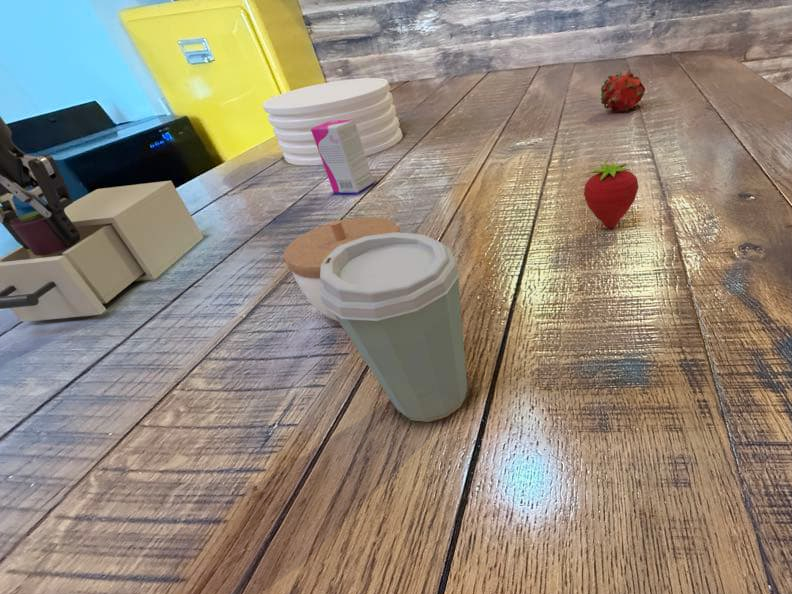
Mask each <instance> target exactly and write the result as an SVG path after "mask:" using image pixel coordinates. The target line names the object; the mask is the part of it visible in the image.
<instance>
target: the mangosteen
mask: <svg viewBox="0 0 792 594" xmlns="http://www.w3.org/2000/svg"><path fill="white" fill-rule="evenodd" d="M19 216H20V217H19V218H18V219H16V220H14V221H12V222H11V223H10V226H11V227H12V228H13V229H14V230H15V232H16V233H17V234H18V235H19V237H20V238H21V239H22V240H23V241H24V243H25V244H26V245H27V246H28V248H29V249H30V250H31V251H32V252H33V254H34V255H38V256H40V255H48V254H52V253H56V252H59V251H62V250H65V249H67V248H69V247H71V246H73V245H74V244H75V243H74V244H73V245H64V244H63V243H62V241H61V240H60V239H59V237H58V236H57V235H56V234H55V232H54V231H53V230H52V228H51V227H50V226H49V224H48V223H47V222H46V220H45V219H44V218H46V217H44V216H43V215H42V214H40V213H39V212H38V211H37V210H33V211H30V212H27V213H26V212H25V213H23V214H21V215H19ZM76 243H77V242H76Z"/></svg>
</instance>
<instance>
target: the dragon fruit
mask: <svg viewBox="0 0 792 594" xmlns="http://www.w3.org/2000/svg"><path fill="white" fill-rule="evenodd" d="M607 78H608V79H606V80H605V81H604V82H603V85H601V87H600V89H601V90H600V92H601V94H600V97H601V98H600V102H601V104H602V105H603V107H604V109H610V110H611V111H612V113H614V114H616V113H617V112H619V110H620V111H621V112H625V113H626V112H628V111H629V110H636V109H638V108H639V104H638V103H639V102H641V101H642V99H643V97H644V96H645V93H646V88H645V86H644V84H643V83H642V80H641V78H640V76H634V73H633V72H632V71H627V73H626V74H623V72H621V71H619V72H618V74H616V75H615V76H614V75H611V74H610V75H608V76H607Z"/></svg>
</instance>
